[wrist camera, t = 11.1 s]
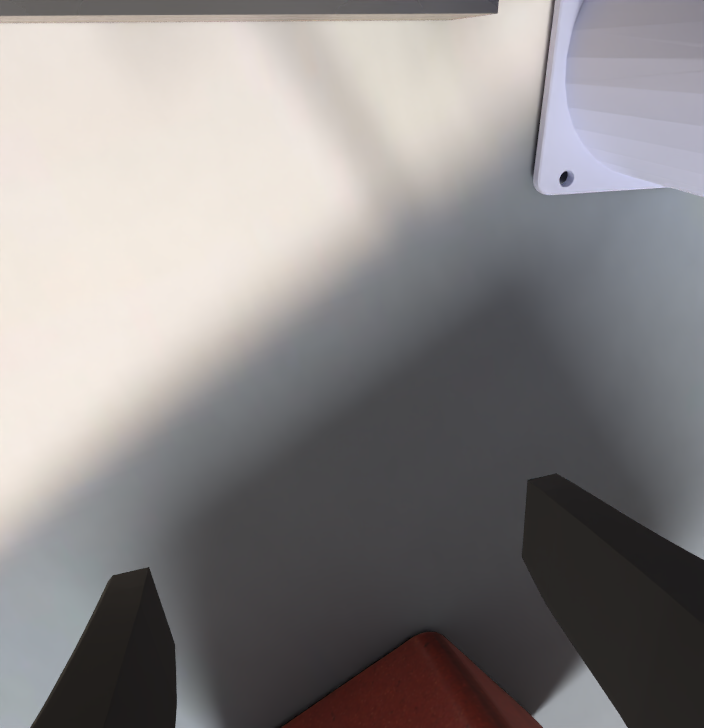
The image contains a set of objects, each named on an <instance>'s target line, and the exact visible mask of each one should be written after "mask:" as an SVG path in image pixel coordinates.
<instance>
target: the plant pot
mask: <svg viewBox="0 0 704 728" xmlns="http://www.w3.org/2000/svg"><path fill="white" fill-rule="evenodd" d="M281 728H543V727H542V726H541V725H540V724H539V723H538V722H537V721H536V720H535V719H534V718H533V717H532V716H531V715H530V714H529V713H528V712H527V711H526V710H525V709H524V708H523V707H522V706H520V705H519V704H518V703H517V702H516V701H515V700H514V699H513V698H512V697H511V696H509V695H508V694H507V693H506V692H505V691H504V690H503V689H502V688H500V687H499V686H498V685H497V684H496V683H495V682H494V681H493V680H491V679H490V678H489V677H488V676H487V675H486V674H485V673H484V672H483V671H482V670H481V669H479V668H478V667H477V666H476V665H475V664H474V663H473V662H472V661H471V660H470V659H469V658H467V657H466V656H465V655H464V654H463V653H462V652H461V651H460V650H459V649H458V648H456V647H455V646H454V645H453V644H452V643H451V642H450V641H449V640H448V639H446V638H445V637H444V636H443V635H441V634H439V633H437V632H424V633H421V634H418V635H416V636H414V637H412V638H411V639H409V640H408V641H407V642H405V643H404V644H402V645H401V646H399V647H398V648H397V649H395V650H394V651H392V652H391V653H389V654H388V655H386V656H385V657H383V658H382V659H380V660H379V661H377V662H376V663H374V664H373V665H371V666H370V667H368V668H367V669H365V670H364V671H363V672H361V673H360V674H358V675H357V676H355V677H354V678H352V679H351V680H349V681H348V682H346V683H345V684H344V685H342V686H341V687H339V688H338V689H336V690H335V691H333V692H332V693H330V694H329V695H328V696H326V697H325V698H323V699H322V700H320V701H319V702H317V703H316V704H314V705H313V706H312V707H310V708H309V709H307V710H306V711H304V712H303V713H301V714H300V715H298V716H297V717H296V718H294V719H293V720H291V721H290V722H288V723H287V724H285V725H284V726H283V727H281Z"/></svg>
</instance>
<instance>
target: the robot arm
mask: <svg viewBox="0 0 704 728" xmlns="http://www.w3.org/2000/svg"><path fill="white" fill-rule="evenodd" d="M564 171H567V173H568V177H567V180H566V181H565V182H564V183H563V184H561V185H560V183H559V178H560V176H561V174H562V173H563V172H564ZM533 185H534V187H535V189H536V190H537V191H539V192H540V193H542V194H545V195H560V194H575V193H590V192H605V191H619V190H634V189H649V188H664V187H670V188H674V189H677V190H681V191H684V192H688V193H691V194H695V195H698V196H702V197H704V0H555V6H554V15H553V23H552V31H551V39H550V47H549V55H548V63H547V71H546V79H545V87H544V95H543V103H542V111H541V119H540V128H539V136H538V144H537V152H536V160H535V168H534V176H533ZM522 558H523V560H524V562H525V564H526V566H527V568H528V570H529V572H530V574H531V576H532V578H533V580H534V582H535V584H536V586H537V588H538V590H539V592H540V594H541V596H542V597H543V599H544V601H545V603H546V605H547V606H548V608H549V610H550V611H551V613H552V614H553V616H554V617H555V619H556V620H557V622H558V623H559V625H560V626H561V628H562V629H563V631H564V632H565V634H566V635H567V637H568V638H569V640H570V641H571V643H572V644H573V646H574V647H575V649H576V650H577V652H578V653H579V655H580V656H581V658H582V659H583V661H584V662H585V664H586V665H587V667H588V668H589V670H590V671H591V673H592V674H593V676H594V677H595V679H596V680H597V681H598V683H599V684H600V686H601V687H602V689H603V690H604V692H605V693H606V695H607V696H608V698H609V699H610V701H611V702H612V704H613V705H614V707H615V708H616V710H617V711H618V713H619V714H620V716H621V718H622V719H623V721H624V722H625V724H626V726H627V727H628V728H704V560H703V559H701V558H699V557H697V556H695V555H693V554H692V553H690V552H688V551H686V550H684V549H682V548H681V547H679V546H677V545H675V544H673V543H672V542H670V541H668V540H666V539H665V538H663V537H661V536H659V535H658V534H656V533H654V532H653V531H651V530H649V529H647V528H646V527H644V526H642V525H641V524H639V523H637V522H636V521H634V520H632V519H631V518H629V517H627V516H626V515H624V514H622V513H621V512H619V511H617V510H616V509H614V508H613V507H611V506H609V505H608V504H606V503H604V502H603V501H601V500H599V499H598V498H596V497H595V496H593V495H591V494H590V493H588V492H586V491H585V490H583V489H582V488H580V487H578V486H577V485H575V484H573V483H572V482H570V481H568V480H567V479H565V478H563V477H561V476H560V475H558V474H552V475H548V476H543V477H539V478H535V479H530V480H528V483H527V497H526V510H525V523H524V536H523V549H522ZM176 708H177V693H176V660H175V643H174V640H173V637H172V634H171V631H170V628H169V625H168V622H167V619H166V616H165V614H164V611H163V608H162V605H161V602H160V599H159V596H158V593H157V590H156V587H155V584H154V581H153V578H152V575H151V572H150V569H149V567H148V568H143V569H139V570H135V571H130V572H126V573H122V574H117V575H113V576H112V577H111V579H110V580H109V581H108V583H107V585H106V587H105V589H104V591H103V593H102V595H101V598H100V600H99V602H98V604H97V606H96V608H95V610H94V612H93V614H92V616H91V618H90V620H89V622H88V624H87V626H86V628H85V630H84V632H83V634H82V636H81V638H80V640H79V642H78V644H77V646H76V648H75V650H74V651H73V653H72V655H71V657H70V659H69V661H68V663H67V664H66V666H65V668H64V670H63V672H62V673H61V675H60V677H59V679H58V681H57V683H56V684H55V686H54V688H53V690H52V692H51V693H50V695H49V697H48V699H47V701H46V702H45V704H44V706H43V708H42V709H41V711H40V713H39V714H38V716H37V718H36V719H35V721H34V722H33V724H32V726H31V727H30V728H175V722H176Z"/></svg>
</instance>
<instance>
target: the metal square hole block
mask: <svg viewBox="0 0 704 728" xmlns="http://www.w3.org/2000/svg"><path fill="white" fill-rule="evenodd" d="M498 2H499V0H0V23H94V22H233V21H372V20H455V19H462V18H469V17H476V16H483V15H490V14H497V13H498Z"/></svg>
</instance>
